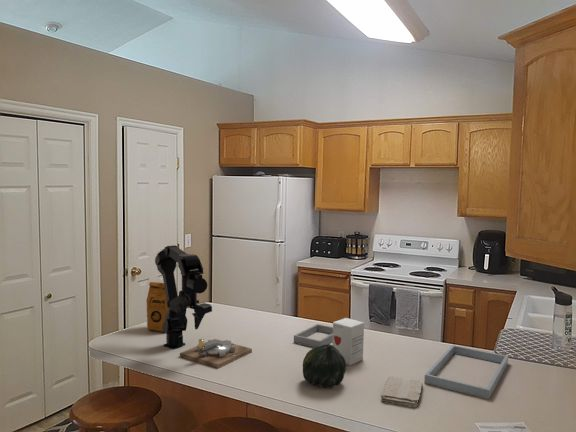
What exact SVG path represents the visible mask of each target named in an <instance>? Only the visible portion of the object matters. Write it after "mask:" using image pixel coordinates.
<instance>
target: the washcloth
mask: <svg viewBox="0 0 576 432" xmlns="http://www.w3.org/2000/svg"><path fill="white" fill-rule="evenodd" d="M421 388H422V389H423V380H421V379H414V378H403V377H399V376H391V375H390V376H388V378H387V380H386V382H385V384H384V387H383V389H382V392H381V394H380V398H381V399H380V402H381V401H382V402H384V401H385V402H384V403H386V402H387V404H390V403H393V404H392V405H396V404H401V405H400V406H402V405H406V406H405V407H407V406H411V407H410V408H416V407H418V406H419V403H418V402H417V401H418V400H419V397H420V398H421V395H420V393H421V394H422V390H421ZM419 401H420V400H419ZM417 403H418V404H417Z"/></svg>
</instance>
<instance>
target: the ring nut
mask: <svg viewBox="0 0 576 432" xmlns="http://www.w3.org/2000/svg"><path fill="white" fill-rule="evenodd" d="M214 339H215V338H212V339H208V340H207V341H206V342H205V339H204V338H199V339H198V344H197V345H196V346H197V351H198V353H201V356H204V357H207V356H219V357H226V354H229V353H230V352H235V350H236V345H237V344H236V345H231V343H232V340H229V339H225V340H221V341H220V339H217V340H216V341H215V340H214Z"/></svg>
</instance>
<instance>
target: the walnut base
mask: <svg viewBox="0 0 576 432" xmlns="http://www.w3.org/2000/svg"><path fill="white" fill-rule="evenodd" d="M213 339H214V340H215V341H216V340H218V339H217V338H213ZM219 340H220V339H219ZM220 341H222V340H220ZM231 345H236V350H235V352H230V353H229V354H226V357H219V356H207V357H204V356H201V353H198V351H197V345H196V346H194V347H191V348H189V349H186V350H184V351H181V352H179V357H180V358H182V359H186V360H190V361H193V362H195V363H198V364H203V365H205V364H206V366H209V367H213V368H215V369H221V368H222V367H225V366H226V365H228V364H230V363H233V362H234V361H235V362H236V361H237V360H239V359H241V358H243V357H245V356H247V355H249V354H251V353H253V348H251V347H247V346H243V345H241V344H235V343H232V342H231Z"/></svg>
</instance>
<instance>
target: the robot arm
mask: <svg viewBox="0 0 576 432" xmlns="http://www.w3.org/2000/svg"><path fill="white" fill-rule="evenodd" d="M154 263H155V266H156V270H157V271H158V272H159V273H160V274H161V275H162V278H163V283H164V287H165V293H166V299H167V307H168V310H167V313H166V315H165V321H164V323H163V325H162V329H163V332H162V333H164V334H166V339H165V340H166V343H164V344H163V347H167V348H170V349H174V350H175V349H178V348H181V347H182V346H185V345H186V343H185V342H184V335H183V332H186V331H187V326H188V318H187V316H186V315H187V314H186V313H187V309H191V310H193V312H192V313H191V315H192V316H193V318H194V329H195V330H198V329H199V327H200V325H201V323H202V321H203V319H204V317H205V316H206V314H208V313H212V312H213V306H212V305H211V303H205V302H203V303H200V300H199V299H198V294H203V293H205V291H207V289H208V282H207V280H206V279H205V278H204V277H203V274H204V267H203V264H202V262H201V259H200V258H199V256H198V255H197V254H193V253H190V254H189V253H186V252H185V251H184V250H182V249H181V248H179V246H178V245H166V246H164V248H163V250H161V251H159V252H158V253H157V254H156V256H155V258H154ZM177 264H178V265H177ZM177 267H178V268H179V271H180V275H181V290H179V292H178V289H177V283H176V278H175V271H176V268H177ZM199 303H200V304H199Z"/></svg>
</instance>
